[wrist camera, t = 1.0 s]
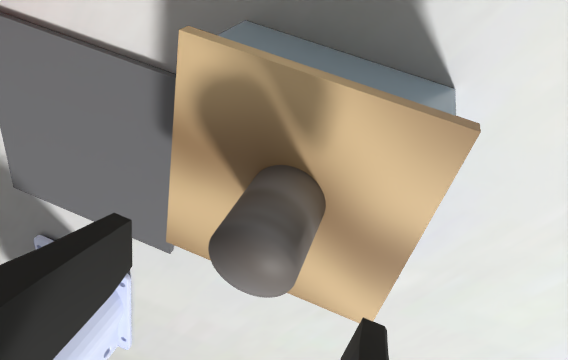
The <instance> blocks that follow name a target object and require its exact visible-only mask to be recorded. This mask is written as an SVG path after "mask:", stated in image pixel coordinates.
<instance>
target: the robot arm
mask: <svg viewBox="0 0 568 360" xmlns="http://www.w3.org/2000/svg"><path fill="white" fill-rule="evenodd" d="M34 245H35V250H34V251H32V252H30V253H27V254H25V255H23V256H20V257H18V258H15V259H13V260H11V261H8V262H6V263H4V264H1V265H0V360H107V359H108V358H109V357H110V356H111V354H112V353H113V352H114V350H115V349H116V348H117V346H119V347H121V348H123V349H126V350H128V349H129V348H130V347H131V345H132V337H131V278H130V276H129V274H127V273H128V271H129V270H130V268H131V267H132V220H131V219H128V218H126V217H124V216H121V215H119V214H116V213H112V214H110V215H108V216H106V217H103V218H101V219H99V220H97V221H95V222H93V223H91V224H89V225H87V226H85V227H83V228H81V229H79V230H77V231H75V232H73V233H71V234H68V235H66V236H64V237H62V238H60V239H58V240H56V241H53V240H51V239H49V238H47V237H44V236H42V235H37V236H36V237H35V238H34ZM341 360H389V356H388V344H387V330H386V328H385V326H383V325H380V324H378V323H375V322H373V321H371V320H368V319H366V318H364V317H363V318H362V320H361V322H360V324H359V326H358V328H357V329H356V331H355V333H354V335H353V337H352V339H351V340H350V342H349V344H348V346H347V348H346V350H345V352H344V353H343V355H342V357H341Z"/></svg>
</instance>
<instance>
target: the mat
mask: <svg viewBox="0 0 568 360" xmlns="http://www.w3.org/2000/svg"><path fill="white" fill-rule="evenodd" d="M175 86H176V74H173V73H170V72H167V71H165V70H162V69H159V68H156V67H153V66H151V65H148V64H145V63H142V62H139V61H137V60H134V59H131V58H128V57H125V56H123V55H120V54H117V53H114V52H111V51H109V50H106V49H103V48H100V47H97V46H95V45H92V44H89V43H86V42H83V41H80V40H78V39H75V38H72V37H69V36H66V35H64V34H61V33H58V32H55V31H52V30H50V29H47V28H44V27H41V26H38V25H36V24H33V23H30V22H27V21H24V20H22V19H19V18H16V17H13V16H10V15H7V14H5V13H2V12H0V128H1V132H2V137H3V142H4V146H5V151H6V155H7V160H8V164H9V169H10V173H11V178H12V182H13V187H14V188H16V189H19V190H21V191H24V192H26V193H28V194H31V195H33V196H35V197H38V198H40V199H42V200H45V201H47V202H49V203H52V204H54V205H56V206H59V207H61V208H63V209H66V210H68V211H70V212H73V213H75V214H78V215H80V216H82V217H85V218H87V219H89V220H92V221H94V222H95V221H97V220H99V219H101V218H103V217H106V216H108V215H110V214H112V213H116V214H119V215H121V216H124V217H126V218H128V219H131V220H132V238H134V239H136V240H139V241H141V242H143V243H146V244H148V245H150V246H153V247H155V248H157V249H160V250H162V251H164V252H167V253H169V254H170V253H171V252H172V251H173V247H174V245H173V244H170V243H168V242H166V233H167V217H168V200H169V184H170V168H171V151H172V135H173V119H174V102H175Z"/></svg>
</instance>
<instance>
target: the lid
mask: <svg viewBox="0 0 568 360" xmlns="http://www.w3.org/2000/svg"><path fill="white" fill-rule="evenodd" d="M480 132H481V130H480V124H479V123H476V122H473V121H470V120H467V119H464V118H461V117H458V116H455V115H452V114H449V113H446V112H443V111H440V110H437V109H434V108H431V107H428V106H425V105H423V104H420V103H417V102H414V101H411V100H408V99H405V98H402V97H399V96H396V95H393V94H390V93H387V92H384V91H381V90H378V89H375V88H372V87H369V86H366V85H363V84H360V83H357V82H354V81H351V80H348V79H345V78H342V77H339V76H336V75H333V74H330V73H327V72H324V71H321V70H318V69H315V68H312V67H309V66H306V65H303V64H301V63H298V62H295V61H292V60H289V59H286V58H283V57H280V56H277V55H274V54H271V53H268V52H265V51H262V50H259V49H256V48H253V47H250V46H247V45H244V44H241V43H238V42H235V41H232V40H229V39H226V38H223V37H220V36H217V35H214V34H211V33H208V32H205V31H202V30H199V29H196V28H193V27H190V26H186V27H184V28H182V29H179V37H178V53H177V69H176V86H175V102H174V119H173V135H172V151H171V168H170V184H169V200H168V217H167V233H166V242H168V243H170V244H173V245H175V246H178V247H180V248H182V249H185V250H187V251H189V252H192V253H194V254H197V255H199V256H201V257H204V258H206V259H208V260H211V262H212V264H213V266H214V268H215V269H216V271H217V272H218V273H219V274H220V276H221V277H222V278H223V279H224V280H226V281H227V282H228V283H229V284H231V285H232V286H233V287H235V288H237V289H238V290H240V291H242V292H245V293H247V294H250V295H253V296H258V297H277V296H281V295H283V294H285V293H289V294H291V295H294V296H296V297H299V298H301V299H303V300H306V301H308V302H310V303H313V304H315V305H317V306H320V307H322V308H325V309H327V310H329V311H332V312H334V313H336V314H339V315H341V316H344V317H346V318H348V319H351V320H353V321H355V322H358V323H360V322H361V320H362V318H363V317H364V318H366V319H368V320H371V321H373V320H374V319H375V317H376V315H377V313H378V312H379V310H380V308H381V306H382V305H383V303H384V301H385V299H386V298H387V296H388V294H389V292H390V291H391V289H392V287H393V285H394V284H395V282H396V280H397V278H398V276H399V275H400V273H401V271H402V269H403V268H404V266H405V264H406V262H407V261H408V259H409V257H410V255H411V254H412V252H413V250H414V248H415V247H416V245H417V243H418V241H419V240H420V238H421V236H422V234H423V233H424V231H425V229H426V227H427V225H428V224H429V222H430V220H431V218H432V217H433V215H434V213H435V211H436V210H437V208H438V206H439V204H440V203H441V201H442V199H443V197H444V196H445V194H446V192H447V190H448V189H449V187H450V185H451V183H452V182H453V180H454V178H455V176H456V174H457V173H458V171H459V169H460V167H461V166H462V164H463V162H464V160H465V159H466V157H467V155H468V153H469V152H470V150H471V148H472V146H473V145H474V143H475V141H476V139H477V138H478V136H479V134H480Z"/></svg>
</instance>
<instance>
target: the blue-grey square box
mask: <svg viewBox="0 0 568 360" xmlns="http://www.w3.org/2000/svg"><path fill="white" fill-rule="evenodd" d="M217 36H220V37H223V38H226V39H229V40H232V41H235V42H238V43H241V44H244V45H247V46H250V47H253V48H256V49H259V50H262V51H265V52H268V53H271V54H274V55H277V56H280V57H283V58H286V59H289V60H292V61H295V62H298V63H301V64H303V65H306V66H309V67H312V68H315V69H318V70H321V71H324V72H327V73H330V74H333V75H336V76H339V77H342V78H345V79H348V80H351V81H354V82H357V83H360V84H363V85H366V86H369V87H372V88H375V89H378V90H381V91H384V92H387V93H390V94H393V95H396V96H399V97H402V98H405V99H408V100H411V101H414V102H417V103H420V104H423V105H425V106H428V107H431V108H434V109H437V110H440V111H443V112H446V113H449V114H452V115H455V116H456V102H455V89H454V88H451V87H448V86H445V85H442V84H439V83H436V82H433V81H429V80H426V79H423V78H420V77H417V76H414V75H411V74H408V73H405V72H402V71H399V70H396V69H393V68H390V67H387V66H384V65H381V64H377V63H374V62H371V61H368V60H365V59H362V58H359V57H356V56H353V55H350V54H347V53H344V52H341V51H338V50H335V49H332V48H329V47H325V46H322V45H319V44H316V43H313V42H310V41H307V40H304V39H301V38H298V37H295V36H292V35H289V34H286V33H283V32H280V31H277V30H273V29H270V28H267V27H264V26H261V25H258V24H255V23H252V22H249V21H246V20H245V21H243V22H241V23H239V24H237V25H236V26H234V27H232V28H230V29H228V30H226V31H224V32H222V33H221V34H219V35H217Z"/></svg>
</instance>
